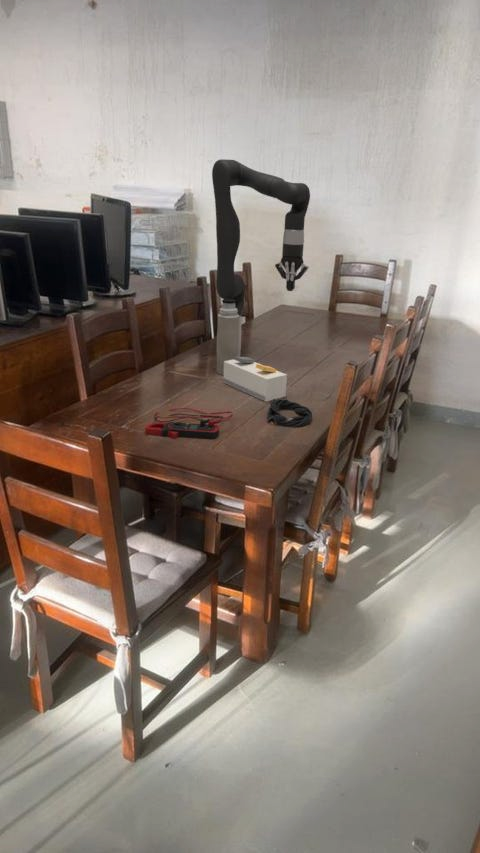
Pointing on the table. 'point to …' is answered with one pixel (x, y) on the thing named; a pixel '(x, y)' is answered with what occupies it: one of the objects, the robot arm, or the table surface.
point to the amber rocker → (266, 368)
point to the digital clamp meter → (187, 426)
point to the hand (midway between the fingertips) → (290, 290)
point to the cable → (286, 404)
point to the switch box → (255, 380)
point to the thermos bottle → (227, 334)
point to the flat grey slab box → (244, 359)
